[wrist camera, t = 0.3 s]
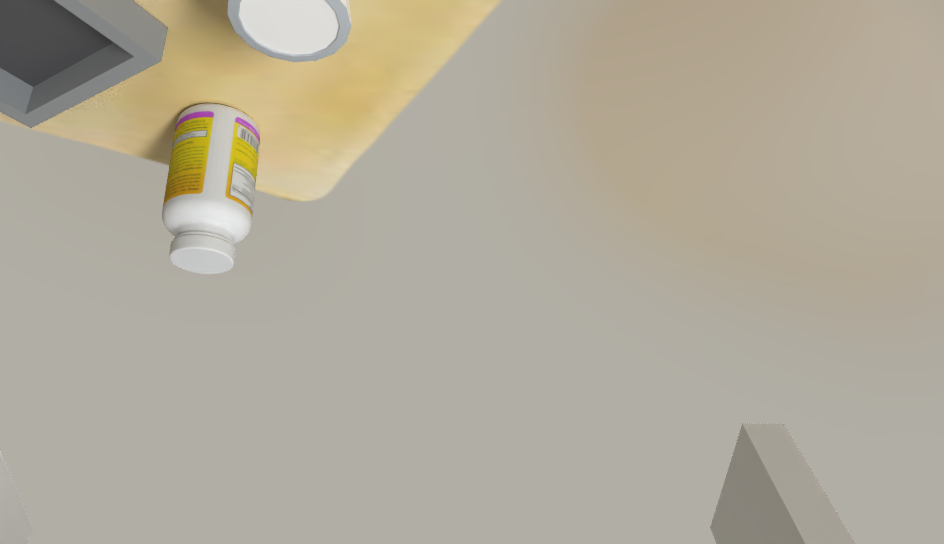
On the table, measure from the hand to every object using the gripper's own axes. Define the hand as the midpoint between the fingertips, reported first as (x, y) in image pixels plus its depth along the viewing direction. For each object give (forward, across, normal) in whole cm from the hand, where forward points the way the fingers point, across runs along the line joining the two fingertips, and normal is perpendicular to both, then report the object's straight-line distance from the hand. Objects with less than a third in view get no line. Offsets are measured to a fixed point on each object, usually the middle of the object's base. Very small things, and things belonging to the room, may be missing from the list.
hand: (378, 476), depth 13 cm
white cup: (+39, -8, +5) cm, 40 cm away
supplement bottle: (+49, -17, -10) cm, 53 cm away
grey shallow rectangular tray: (+42, -27, 0) cm, 50 cm away
